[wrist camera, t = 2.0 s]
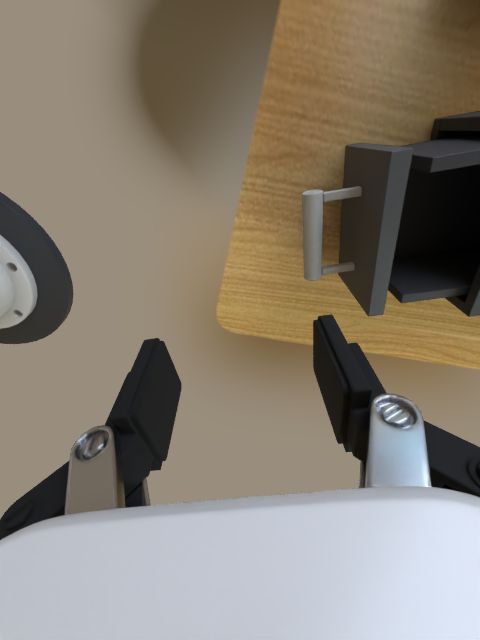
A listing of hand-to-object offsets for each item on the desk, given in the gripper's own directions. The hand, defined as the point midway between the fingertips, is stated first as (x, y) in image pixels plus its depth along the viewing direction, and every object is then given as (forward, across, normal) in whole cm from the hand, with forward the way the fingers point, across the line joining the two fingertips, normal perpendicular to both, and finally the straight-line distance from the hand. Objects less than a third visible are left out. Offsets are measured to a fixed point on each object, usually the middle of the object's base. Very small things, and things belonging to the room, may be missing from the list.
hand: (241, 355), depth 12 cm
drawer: (+17, -14, 0) cm, 22 cm away
